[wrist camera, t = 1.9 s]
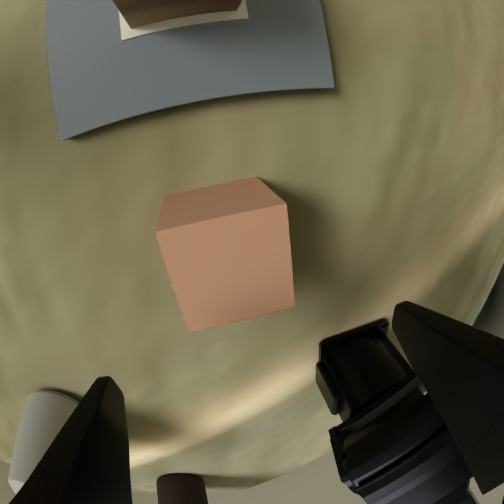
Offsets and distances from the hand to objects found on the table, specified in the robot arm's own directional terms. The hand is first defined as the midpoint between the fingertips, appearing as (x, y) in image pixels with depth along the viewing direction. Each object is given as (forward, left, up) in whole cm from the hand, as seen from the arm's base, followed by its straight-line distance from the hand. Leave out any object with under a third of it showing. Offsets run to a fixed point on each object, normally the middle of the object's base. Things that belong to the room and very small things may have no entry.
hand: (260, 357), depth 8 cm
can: (+19, +14, -10) cm, 25 cm away
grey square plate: (0, -14, -9) cm, 17 cm away
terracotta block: (0, 0, -10) cm, 10 cm away
